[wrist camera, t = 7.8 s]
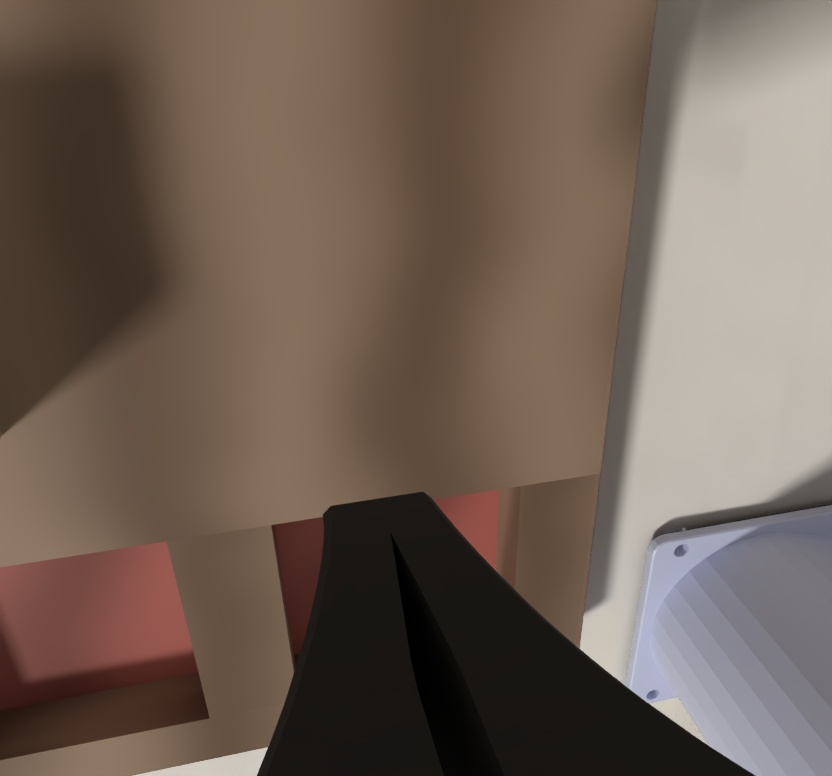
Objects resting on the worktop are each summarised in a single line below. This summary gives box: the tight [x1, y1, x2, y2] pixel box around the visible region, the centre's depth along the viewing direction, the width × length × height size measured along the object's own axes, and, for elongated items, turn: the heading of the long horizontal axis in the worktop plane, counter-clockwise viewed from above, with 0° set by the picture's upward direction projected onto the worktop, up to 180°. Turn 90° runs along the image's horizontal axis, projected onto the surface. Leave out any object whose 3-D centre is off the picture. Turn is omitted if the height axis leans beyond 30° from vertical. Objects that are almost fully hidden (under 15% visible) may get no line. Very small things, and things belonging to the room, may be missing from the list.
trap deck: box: [0, 0, 657, 776], centre depth 17 cm, size 21×20×4 cm
